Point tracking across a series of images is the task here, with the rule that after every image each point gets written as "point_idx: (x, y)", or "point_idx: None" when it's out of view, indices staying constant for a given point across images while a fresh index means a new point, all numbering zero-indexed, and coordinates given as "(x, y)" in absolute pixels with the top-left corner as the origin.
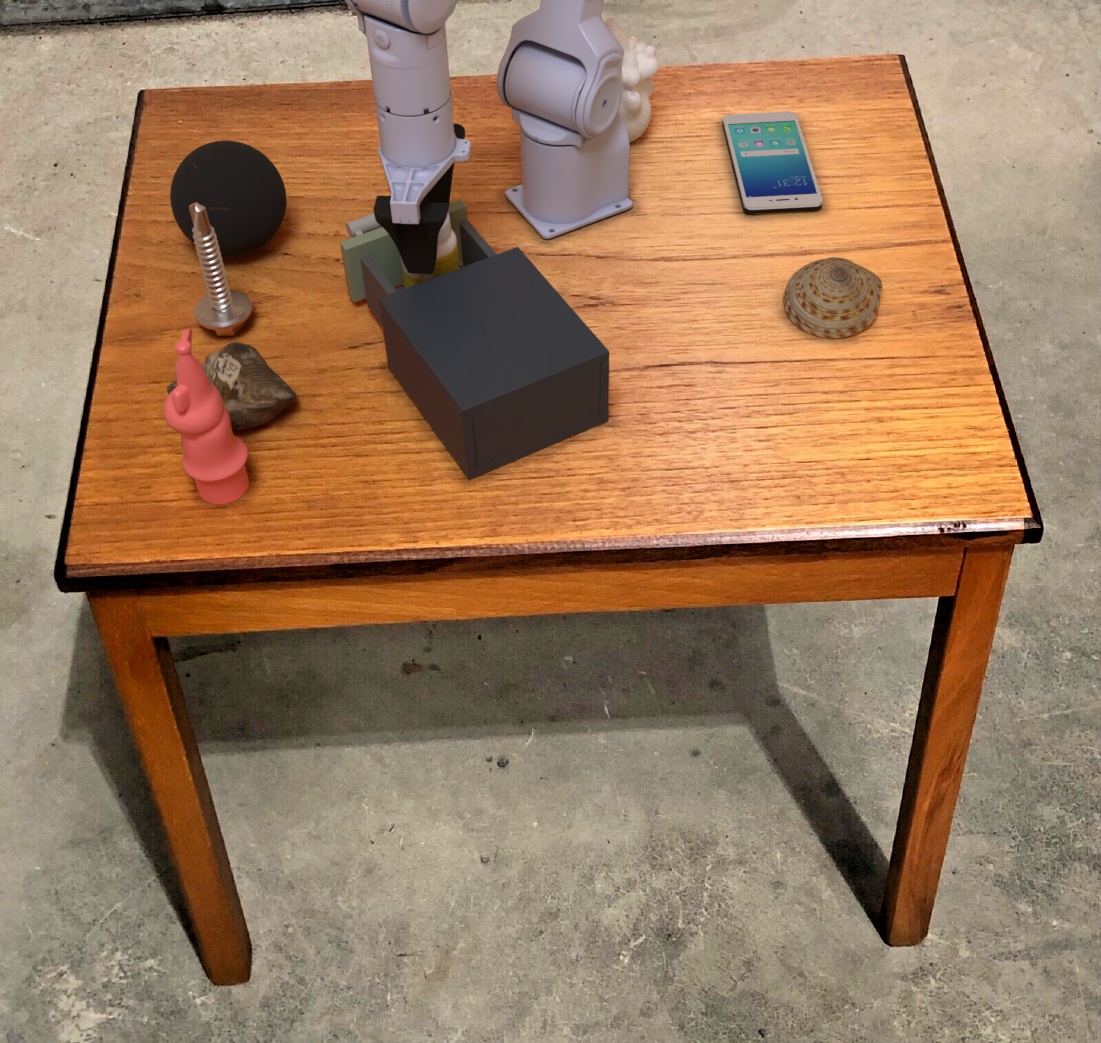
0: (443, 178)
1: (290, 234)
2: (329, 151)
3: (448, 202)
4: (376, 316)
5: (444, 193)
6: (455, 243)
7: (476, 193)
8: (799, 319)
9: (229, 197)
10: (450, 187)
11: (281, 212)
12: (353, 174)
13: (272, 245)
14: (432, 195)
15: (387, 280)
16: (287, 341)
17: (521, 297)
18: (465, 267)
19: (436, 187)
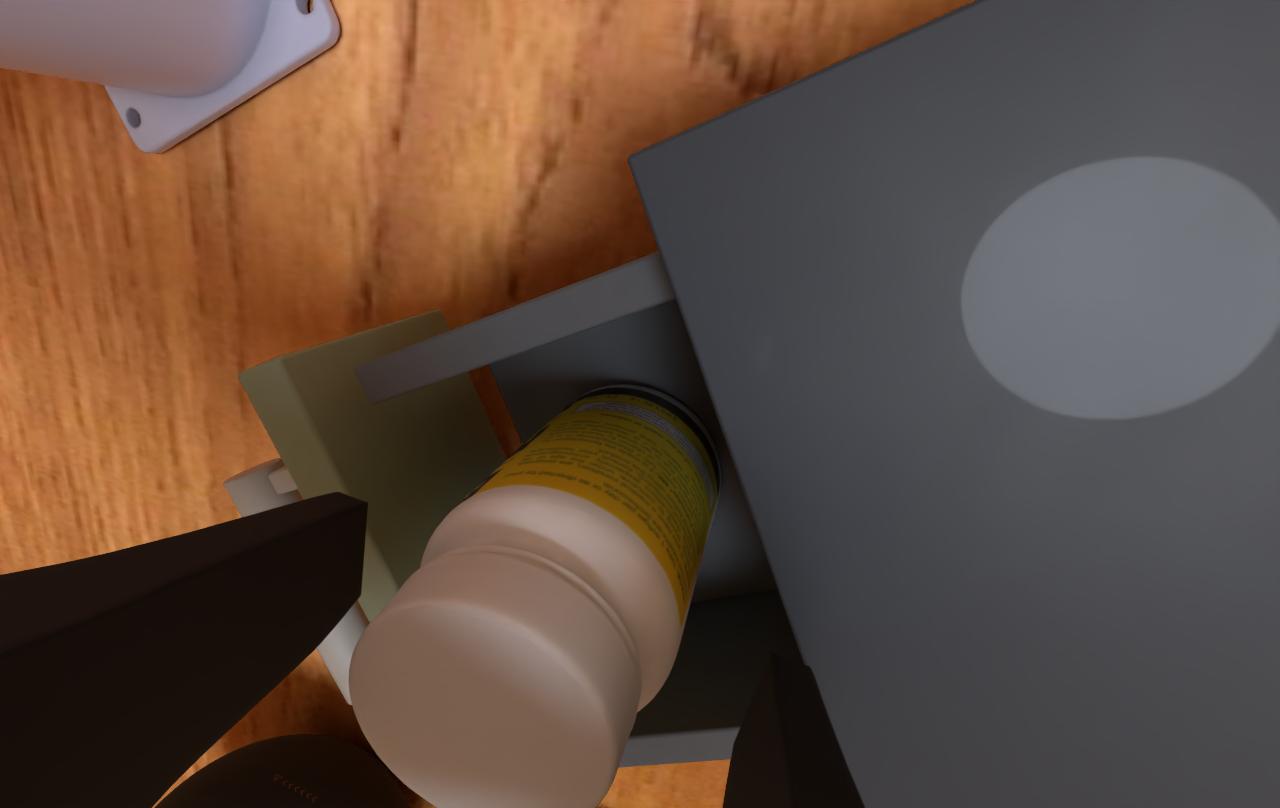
0: (156, 636)
1: (330, 681)
2: (74, 554)
3: (313, 524)
4: None
5: (263, 571)
6: (581, 506)
7: (159, 239)
8: None
9: None
10: (221, 560)
11: (304, 805)
12: (134, 523)
13: None
14: (277, 615)
15: (698, 736)
16: (677, 771)
17: (1171, 200)
18: (751, 479)
19: (227, 629)
